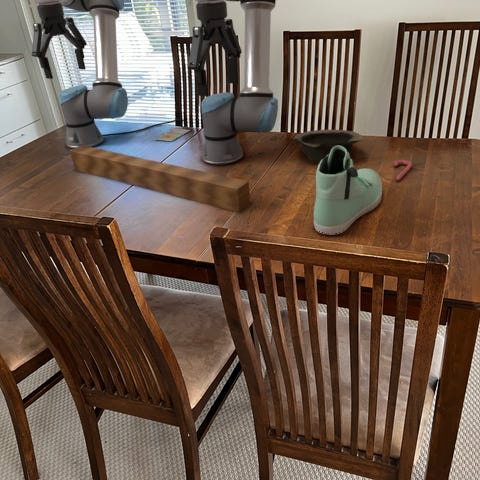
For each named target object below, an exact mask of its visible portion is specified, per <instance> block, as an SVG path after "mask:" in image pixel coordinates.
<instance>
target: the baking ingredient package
mask: <svg viewBox="0 0 480 480" xmlns="http://www.w3.org/2000/svg"><path fill="white" fill-rule="evenodd" d="M190 131H191V130H190V129H182V128H174V127H173V128H172V129H170V130H168V131H166V132H164V133H163V134H161V135H159V136H157V137H155V138H154V140H158V141H167V142H172V141H174V140H176V139H178V138H181V136H184V135H185V134H186V133H188V132H190Z"/></svg>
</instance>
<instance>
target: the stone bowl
mask: <svg viewBox="0 0 480 480" xmlns="http://www.w3.org/2000/svg"><path fill="white" fill-rule="evenodd" d="M363 139H365V137H364V136H363V135H362V134H360V133H358V132H355V131H352V130H346V129H319V130H317V129H315V130H308V131H304V132H299V133H297V134H295V135H294V137H293V138H292V141H294V142H296V143H298V144H301V149H302V152H303V153H304V155H305V156H307V157H308V158H309V160H310V162H311V163H313V164H319V163H320V161H321V160H322V159H324V158H325V157H326V156H327V155H329V154H330V152H331V149H332V148H333V147H334V146H342V147H344V148H345V149H346V150H347V152H348V153H349V156H350V157H351V154H352V150H353V144H355V143H359V142H360V141H362V140H363Z"/></svg>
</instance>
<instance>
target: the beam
mask: <svg viewBox="0 0 480 480" xmlns="http://www.w3.org/2000/svg"><path fill="white" fill-rule="evenodd" d="M69 154H70V157H71V161H72V164H73V168H74V170H75V171H78V172H82V173H86V174H90V175H94V176H98V177H102V178H106V179H110V180H113V181H116V182H121V183H125V184H129V185H133V186H137V187H140V188H144V189H148V190H151V191H155V192H160V193H164V194H167V195H171V196H174V197H179V198H182V199H186V200H191V201H195V202H199V203H203V204H206V205H210V206H214V207H217V208H222V209H225V210H229V211H233V212H237V213H240V212H243V210H245V209H246V208H247V207H248V206H250V205H251V197H250V196H251V195H250V184H249V183H250V181H249V180H244V179H239V178H236V177H230V176H227V175H222V174H216V173H211V172H208V171H203V170H197V169H193V168H188V167H186V166H185V167H184V166H180V165H176V164H171V163H166V162H161V161H156V160H152V159H148V158H147V159H146V158H143V157H138V156H133V155H128V154H124V153H120V152H114V151H110V150H106V149H101V148H97V147H87V146H83V145H82V146H79V147H77V148H75V149H70V150H69Z"/></svg>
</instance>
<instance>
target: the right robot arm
mask: <svg viewBox="0 0 480 480" xmlns="http://www.w3.org/2000/svg"><path fill="white" fill-rule="evenodd" d="M195 1H196V2H197V3H196V5H195V9H196V18H197V20H198V21H200V26H193V27H192V39H191V45H190V51H189V57H188V64H187V68H188V69H189V70H191V71H194V77H195V83H196V86H197V96H198V97H204V99H203V100H202V101H201V104H200V106H201V112H200V113H201V118H202V126H203V134H204V142H203V147H202V151H201V160H202V162H203V163H204V164H207V165H209V166H217V167H219V166H229V165H232V164H236V163H238V162H240V161H241V160H242V159H243V157H244V153H243V149H242V147H241V143H240V141H239V139H238V137H237V133H257V134H260V133H270V132H272V131H273V129H274V128H275V126H276V122H277V118H278V111H279V100H278V98H276V97H274V92H273V91H272V90H271V88H270V60H271V59H270V58H271V56H270V54H271V20H272V19H271V18H272V17H271V16H272V14H271V13H272V11H273V10H274V9H275V8H276V2H277V0H195ZM227 2H240V3H239V5H240V8H241V9H242V10H243V11H244V55H243V56H244V57H243V59H244V62H243V64H244V70H243V83H244V84H243V88H242V90H240V92H239V97H235V94H234V93H233V92H229V91H225V92H218V93H214V94H211V95H209V88H208V78H207V77H208V76H207V69H204V67H205V65H206V62H207V59H208V56H209V53H210V50H211V47H212V46H213V45H214V44H216V43H217V42H218V43H219V44H220V46H221V47H222V49H223V50H224V52H225V54H226V55H227V58H226V66H227V80H228V84H231V85H232V84H234V85H237V84H239V77H238V59H241V55H242V48H241V45H240V43H239V39H238V37H237V34H236V31H235V27H234V22H233V19H232V18H228V4H227Z"/></svg>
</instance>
